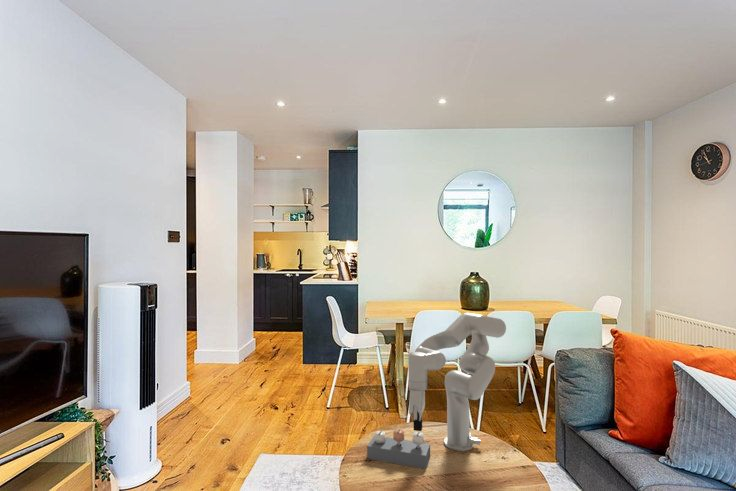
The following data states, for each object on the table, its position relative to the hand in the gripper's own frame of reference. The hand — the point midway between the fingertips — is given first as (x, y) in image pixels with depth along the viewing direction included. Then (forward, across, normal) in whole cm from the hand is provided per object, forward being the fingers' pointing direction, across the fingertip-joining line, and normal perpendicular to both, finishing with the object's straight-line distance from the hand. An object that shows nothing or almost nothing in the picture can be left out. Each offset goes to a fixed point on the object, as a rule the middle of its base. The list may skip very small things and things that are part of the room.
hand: (417, 429), depth 154 cm
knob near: (+8, 0, 0) cm, 8 cm away
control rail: (+12, 0, -8) cm, 15 cm away
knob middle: (+8, 0, -8) cm, 11 cm away
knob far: (+10, 0, -16) cm, 19 cm away
